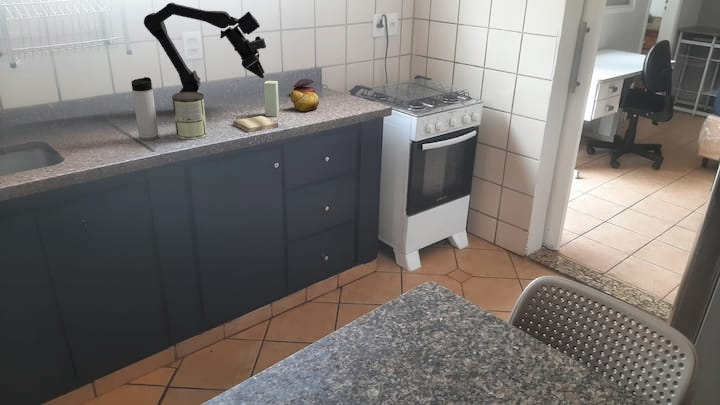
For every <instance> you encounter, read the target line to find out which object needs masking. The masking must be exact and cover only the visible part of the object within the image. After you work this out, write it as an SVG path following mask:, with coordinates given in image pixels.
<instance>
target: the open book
mask: <svg viewBox="0 0 720 405" xmlns="http://www.w3.org/2000/svg"><path fill="white" fill-rule="evenodd" d="M233 125H234V126H236V127H238V128H240V129H241V130H244V131H246V132H248V133H252V132H257V131H263V130H268V129H269V130H270V129H275V128H279V122H277V121H275V120H272V119H270V118H268V117H267V116H264V115H258V116H253V117H248V118H247V117H246V118H242V119H241V118H239V119H234V120H233Z"/></svg>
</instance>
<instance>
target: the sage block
mask: <svg viewBox="0 0 720 405" xmlns="http://www.w3.org/2000/svg"><path fill="white" fill-rule="evenodd" d="M278 84H279V82H278V81H277V80H266V81H265V82H263V85H264V87H263V88H264V89H263V90H264V108H265V110H264V112H265V117H278V115H279V114H280V109H279V107H280V105H279V104H280V103H279V85H278Z"/></svg>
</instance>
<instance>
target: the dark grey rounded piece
mask: <svg viewBox="0 0 720 405" xmlns="http://www.w3.org/2000/svg"><path fill="white" fill-rule="evenodd" d="M314 82H315V81H314V79H311V78H302V79H300V80H298V81H297V82H296V83H294V85H292V86H293V90H292V91H298V92H301V93H304V92H313V93H316V88H315V87H313V86H310V85H312V84H314Z"/></svg>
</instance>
